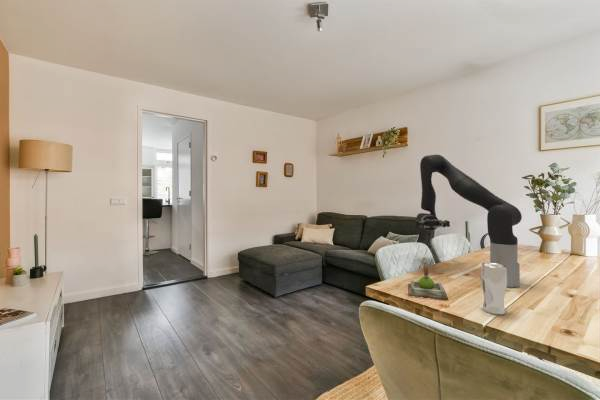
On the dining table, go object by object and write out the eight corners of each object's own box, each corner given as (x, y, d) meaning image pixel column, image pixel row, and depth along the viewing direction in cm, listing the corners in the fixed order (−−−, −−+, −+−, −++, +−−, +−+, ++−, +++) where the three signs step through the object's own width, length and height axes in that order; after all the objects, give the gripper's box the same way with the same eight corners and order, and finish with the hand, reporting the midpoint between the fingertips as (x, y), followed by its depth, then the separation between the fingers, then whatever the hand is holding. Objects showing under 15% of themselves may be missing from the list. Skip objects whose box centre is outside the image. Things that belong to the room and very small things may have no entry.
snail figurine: (432, 288, 109) (432, 257, 108) (435, 293, 102) (434, 261, 102) (417, 286, 110) (417, 257, 110) (419, 292, 104) (419, 260, 104)
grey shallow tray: (443, 289, 110) (443, 282, 109) (448, 300, 98) (448, 292, 98) (408, 286, 114) (408, 279, 114) (408, 296, 103) (408, 289, 103)
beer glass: (511, 316, 85) (511, 268, 85) (486, 314, 87) (486, 267, 86) (500, 307, 92) (500, 262, 92) (477, 306, 93) (477, 262, 93)
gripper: (414, 214, 140) (416, 216, 125) (445, 214, 136) (451, 216, 120) (414, 229, 140) (416, 233, 125) (445, 229, 136) (452, 233, 120)
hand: (433, 224), depth 123 cm, fingers open, 8 cm apart
